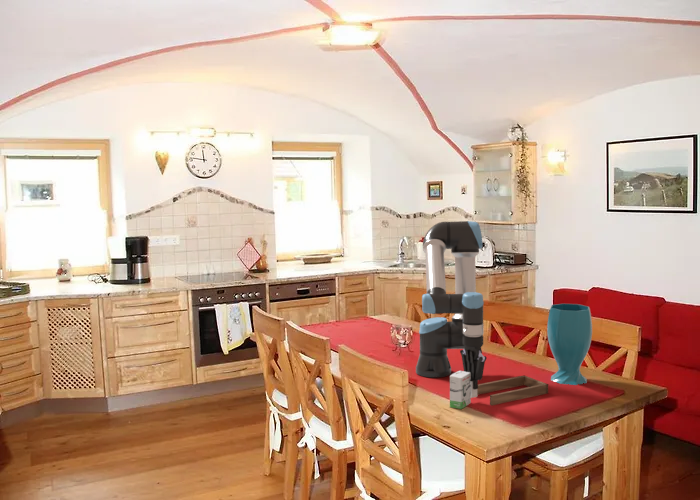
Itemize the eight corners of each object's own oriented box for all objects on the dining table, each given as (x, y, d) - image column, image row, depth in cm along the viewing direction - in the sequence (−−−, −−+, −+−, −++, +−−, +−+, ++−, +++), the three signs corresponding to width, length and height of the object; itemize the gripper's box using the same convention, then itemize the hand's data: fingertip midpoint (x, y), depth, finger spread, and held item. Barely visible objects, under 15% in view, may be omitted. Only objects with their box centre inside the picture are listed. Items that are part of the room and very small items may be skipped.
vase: (567, 388, 260) (568, 313, 256) (537, 376, 275) (538, 305, 272) (600, 382, 267) (602, 308, 263) (570, 370, 282) (571, 301, 279)
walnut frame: (469, 395, 254) (469, 386, 254) (524, 383, 267) (524, 375, 266) (491, 405, 242) (491, 396, 242) (548, 393, 255) (548, 384, 254)
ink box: (461, 409, 239) (461, 378, 237) (449, 407, 241) (448, 375, 240) (471, 402, 246) (471, 371, 244) (459, 400, 248) (459, 369, 247)
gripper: (454, 332, 248) (454, 393, 251) (475, 339, 236) (476, 403, 239) (470, 330, 251) (470, 390, 254) (492, 336, 240) (492, 400, 242)
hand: (473, 396), depth 247 cm, fingers closed
